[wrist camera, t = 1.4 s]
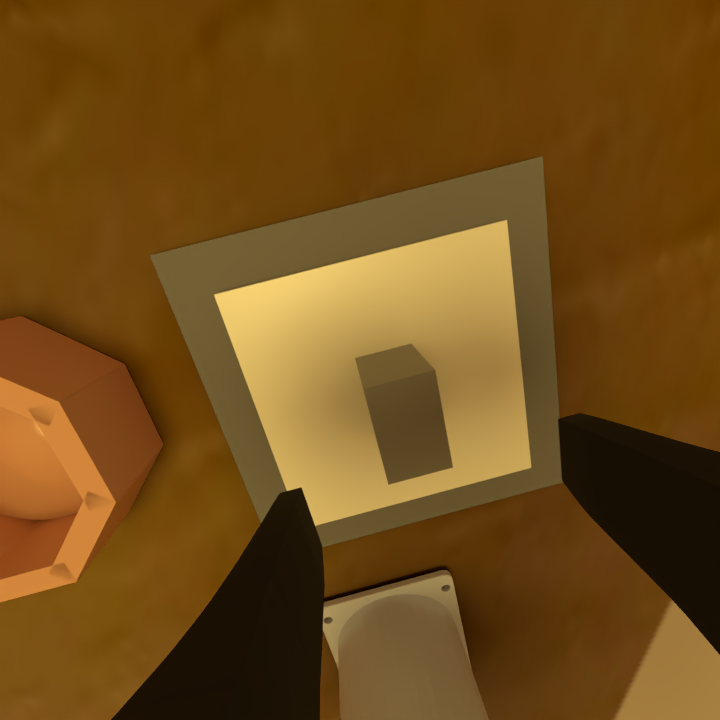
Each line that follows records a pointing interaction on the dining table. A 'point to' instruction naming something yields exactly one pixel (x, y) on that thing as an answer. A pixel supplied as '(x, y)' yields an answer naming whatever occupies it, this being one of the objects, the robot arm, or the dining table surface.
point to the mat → (355, 239)
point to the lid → (387, 371)
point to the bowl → (64, 455)
